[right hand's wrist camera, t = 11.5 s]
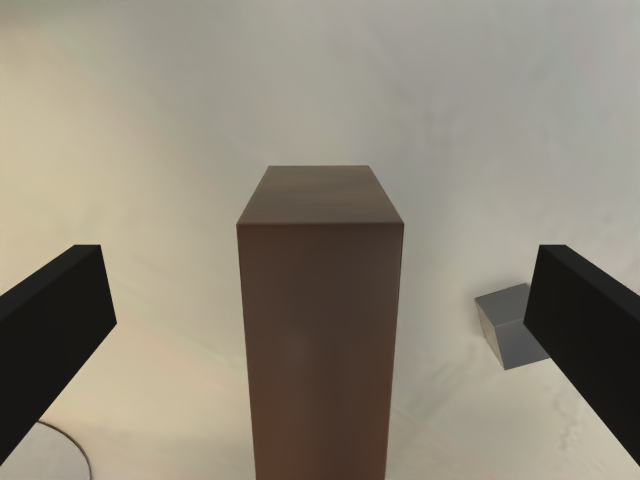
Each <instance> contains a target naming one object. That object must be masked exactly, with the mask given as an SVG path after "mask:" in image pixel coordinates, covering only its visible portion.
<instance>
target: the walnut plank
mask: <svg viewBox="0 0 640 480" xmlns="http://www.w3.org/2000/svg"><path fill="white" fill-rule="evenodd" d="M236 228H237V241H238V253H239V266H240V279H241V292H242V305H243V318H244V331H245V344H246V357H247V370H248V383H249V396H250V408H251V421H252V434H253V447H254V460H255V473H256V480H385V472H386V459H387V446H388V432H389V419H390V406H391V393H392V380H393V366H394V353H395V340H396V327H397V314H398V300H399V287H400V274H401V261H402V247H403V234H404V222H403V221H402V219H401V217H400V216H399V214H398V212H397V211H396V209H395V208H394V206H393V204H392V203H391V201H390V199H389V198H388V196H387V194H386V193H385V191H384V190H383V188H382V186H381V185H380V183H379V181H378V180H377V178H376V176H375V175H374V173H373V172H372V170H371V168H370V167H369V166H269V167H268V169H267V170H266V172H265V174H264V176H263V177H262V179H261V181H260V183H259V185H258V186H257V188H256V190H255V192H254V193H253V195H252V197H251V199H250V201H249V202H248V204H247V206H246V208H245V209H244V211H243V213H242V215H241V217H240V218H239V220H238V222H237V224H236Z"/></svg>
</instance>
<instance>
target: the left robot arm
mask: <svg viewBox="0 0 640 480" xmlns="http://www.w3.org/2000/svg"><path fill="white" fill-rule="evenodd" d="M0 480H90V470H89V466H88V463H87V460H86V458H85V457H84V455H83V453H82V452H81V451H80V449H79V448H78V447H77V446H76V445H75V444H74V443H73V442H72V441H71V440H70V439H68V438H67V437H66V436H64V435H63V434H61V433H60V432H58V431H56V430H54V429H52V428H50V427H48V426H46V425H43V424H41V423H37V422H36V424H35V425H34V426H33V427H32V428H31V430H30V431H29V432H28V433H27V435H26V436H25V437H24V438H23V439H22V441H21V442H20V443H19V444H18V446H17V447H16V448H15V449H14V450H13V452H12V453H11V454H10V455H9V457H8V458H7V459H6V460H5V462H4V463H3V464H2V465H1V466H0Z"/></svg>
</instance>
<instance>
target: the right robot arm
mask: <svg viewBox="0 0 640 480" xmlns="http://www.w3.org/2000/svg"><path fill="white" fill-rule="evenodd" d="M116 324H117V321H116V316H115V312H114V307H113V302H112V297H111V293H110V288H109V283H108V278H107V274H106V269H105V264H104V260H103V255H102V250H101V245H74V246H72V247H71V248H69V249H68V250H66V251H65V252H63V253H62V254H61V255H59V256H58V257H56V258H55V259H53V260H52V261H50V262H49V263H48V264H46V265H45V266H43V267H42V268H40V269H39V270H37V271H36V272H35V273H33V274H32V275H30V276H29V277H27V278H26V279H25V280H23V281H22V282H20V283H19V284H17V285H16V286H14V287H13V288H12V289H10V290H9V291H7V292H6V293H4V294H3V295H1V296H0V466H1V465H2V464H3V463H4V462H5V460H6V459H7V458H8V457H9V455H10V454H11V453H12V452H13V450H14V449H15V448H16V447H17V446H18V444H19V443H20V442H21V441H22V439H23V438H24V437H25V436H26V435H27V433H28V432H29V431H30V430H31V428H32V427H33V426H34V425H35V424H36V422H37V421H38V420H39V419H40V417H41V416H42V415H43V414H44V412H45V411H46V410H47V409H48V408H49V406H50V405H51V404H52V403H53V401H54V400H55V399H56V398H57V397H58V395H59V394H60V393H61V392H62V390H63V389H64V388H65V387H66V386H67V384H68V383H69V382H70V381H71V379H72V378H73V377H74V376H75V374H76V373H77V372H78V371H79V370H80V368H81V367H82V366H83V365H84V363H85V362H86V361H87V360H88V359H89V357H90V356H91V355H92V354H93V352H94V351H95V350H96V349H97V348H98V346H99V345H100V344H101V343H102V341H103V340H104V339H105V338H106V336H107V335H108V334H109V333H110V332H111V330H112V329H113V328H114V327H115V325H116ZM523 324H524V325H525V327H526V328H527V329H528V330H529V332H530V333H531V334H532V335H533V336H534V338H535V339H536V340H537V341H538V343H539V344H540V345H541V346H542V348H543V349H544V350H545V351H546V352H547V354H548V355H549V356H550V357H551V359H552V360H553V361H554V362H555V363H556V365H557V366H558V367H559V368H560V370H561V371H562V372H563V373H564V374H565V376H566V377H567V378H568V379H569V381H570V382H571V383H572V384H573V386H574V387H575V388H576V389H577V390H578V392H579V393H580V394H581V395H582V397H583V398H584V399H585V400H586V401H587V403H588V404H589V405H590V406H591V408H592V409H593V410H594V411H595V412H596V414H597V415H598V416H599V417H600V419H601V420H602V421H603V422H604V424H605V425H606V426H607V427H608V428H609V430H610V431H611V432H612V433H613V435H614V436H615V437H616V438H617V439H618V441H619V442H620V443H621V444H622V446H623V447H624V448H625V449H626V450H627V452H628V453H629V454H630V455H631V457H632V458H633V459H634V460H635V462H636V463H637V464H638V465H639V466H640V296H639V295H637V294H636V293H634V292H633V291H631V290H630V289H628V288H627V287H626V286H624V285H623V284H621V283H620V282H618V281H617V280H615V279H614V278H613V277H611V276H610V275H608V274H607V273H605V272H604V271H603V270H601V269H600V268H598V267H597V266H595V265H594V264H592V263H591V262H590V261H588V260H587V259H585V258H584V257H582V256H581V255H579V254H578V253H577V252H575V251H574V250H572V249H571V248H569V247H568V246H566V245H539V250H538V255H537V260H536V264H535V269H534V274H533V278H532V283H531V288H530V293H529V297H528V302H527V307H526V312H525V316H524V321H523Z"/></svg>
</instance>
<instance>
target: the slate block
mask: <svg viewBox="0 0 640 480" xmlns="http://www.w3.org/2000/svg"><path fill="white" fill-rule="evenodd" d="M529 293H530V287H529V286H528V285H527V284H526V283H525V284H521V285H518V286H515V287H511V288H508V289H505V290H501V291H498V292H495V293H491V294H488V295H485V296H481V297H478V298H475V302H476V306H477V310H478V314H479V317H480V321H481V325H482V329H483V333H484V337H485V339H486V341H487V343H488V344H489V346H490V347H491V349H492V351H493V352H494V354H495V355H496V357H497V359H498V360H499V362H500V364H501V365H502V367H503V368H504V370H508V369H512V368H516V367H519V366H523V365H527V364H530V363H534V362H537V361H541V360H545V359H548V358H551V357H550V356H549V355H548V354H547V352H546V351H545V350H544V349H543V348H542V346H541V345H540V344H539V343H538V341H537V340H536V339H535V338H534V336H533V335H532V334H531V333H530V332H529V330H528V329H527V328H526V327H525V325H524V324H523V321H524V316H525V312H526V307H527V302H528V297H529Z"/></svg>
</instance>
